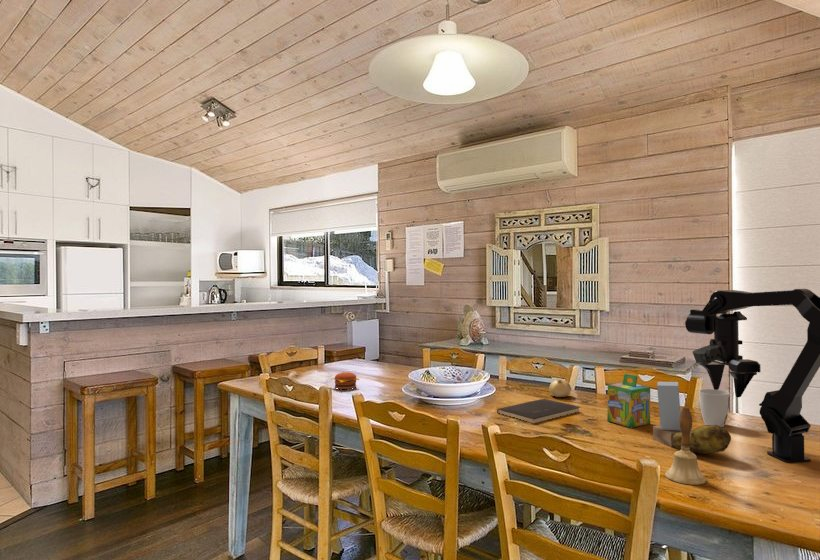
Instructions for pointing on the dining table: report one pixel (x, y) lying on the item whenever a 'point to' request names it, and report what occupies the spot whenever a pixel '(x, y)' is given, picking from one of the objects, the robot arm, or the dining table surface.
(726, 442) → the potato
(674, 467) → the hand bell
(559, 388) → the onion
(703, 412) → the cup
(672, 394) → the slate block
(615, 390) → the chalk box
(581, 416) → the dining table surface
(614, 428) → the dining table surface
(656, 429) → the walnut box
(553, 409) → the hardcover book
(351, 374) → the hamburger
